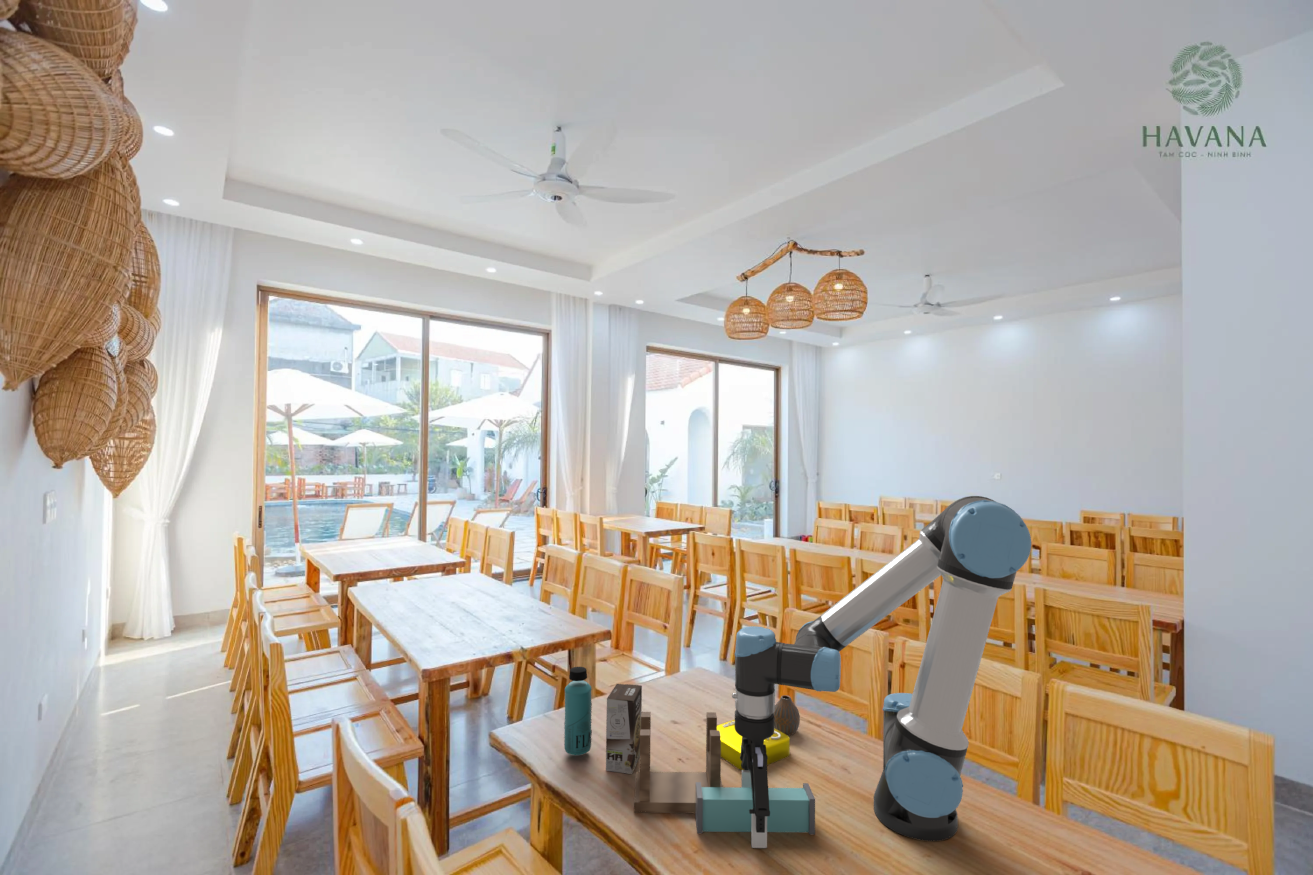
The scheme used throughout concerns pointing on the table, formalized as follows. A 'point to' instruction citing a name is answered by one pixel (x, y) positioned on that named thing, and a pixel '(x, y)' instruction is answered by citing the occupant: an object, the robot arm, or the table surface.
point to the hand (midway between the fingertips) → (753, 823)
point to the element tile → (732, 742)
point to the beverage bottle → (577, 713)
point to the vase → (786, 716)
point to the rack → (675, 774)
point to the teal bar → (732, 807)
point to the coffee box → (623, 728)
